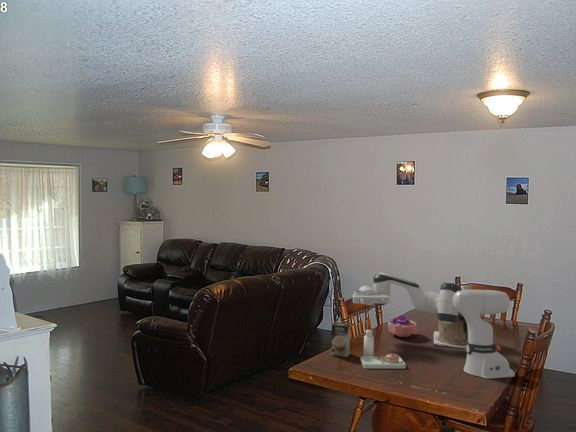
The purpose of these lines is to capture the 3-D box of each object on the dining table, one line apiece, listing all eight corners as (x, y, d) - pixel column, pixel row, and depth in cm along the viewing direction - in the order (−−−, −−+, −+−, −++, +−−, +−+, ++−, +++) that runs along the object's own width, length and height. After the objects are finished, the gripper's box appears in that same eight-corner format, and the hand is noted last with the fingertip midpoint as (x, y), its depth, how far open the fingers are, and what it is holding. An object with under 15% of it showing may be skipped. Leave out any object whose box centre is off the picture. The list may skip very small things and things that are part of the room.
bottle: (372, 356, 264) (372, 329, 263) (374, 359, 259) (374, 331, 258) (362, 356, 264) (363, 329, 263) (364, 359, 259) (364, 331, 258)
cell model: (386, 339, 295) (386, 320, 294) (388, 330, 314) (388, 312, 314) (416, 341, 291) (416, 322, 290) (416, 332, 310) (416, 314, 310)
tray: (399, 360, 257) (399, 356, 257) (405, 368, 245) (405, 364, 245) (360, 360, 257) (360, 356, 256) (364, 368, 245) (364, 363, 244)
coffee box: (330, 355, 264) (330, 324, 263) (332, 352, 270) (333, 322, 270) (348, 357, 262) (348, 326, 261) (349, 353, 268) (350, 323, 267)
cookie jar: (432, 346, 283) (434, 288, 282) (433, 334, 306) (434, 282, 305) (480, 350, 276) (481, 291, 274) (477, 338, 299) (478, 284, 298)
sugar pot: (397, 362, 254) (397, 351, 254) (400, 366, 248) (400, 355, 247) (384, 362, 254) (384, 351, 254) (387, 366, 248) (387, 355, 247)
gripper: (387, 302, 287) (392, 308, 273) (350, 302, 287) (354, 307, 273) (387, 291, 286) (392, 296, 273) (351, 291, 286) (354, 296, 272)
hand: (373, 302), depth 273 cm, fingers open, 8 cm apart
